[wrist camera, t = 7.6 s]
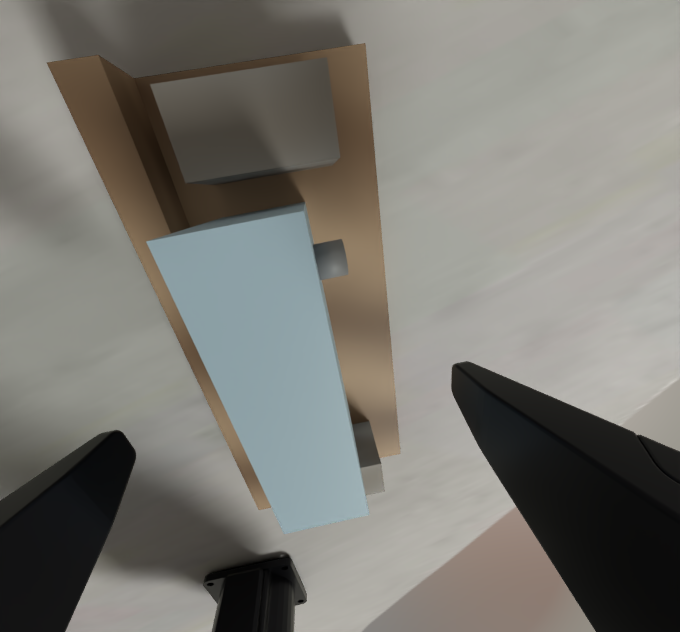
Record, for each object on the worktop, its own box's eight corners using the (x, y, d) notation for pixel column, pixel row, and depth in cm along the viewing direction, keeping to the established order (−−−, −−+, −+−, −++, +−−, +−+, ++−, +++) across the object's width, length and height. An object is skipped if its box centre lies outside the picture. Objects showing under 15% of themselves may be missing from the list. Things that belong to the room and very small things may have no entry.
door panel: (364, 406, 14) (391, 509, 9) (291, 422, 14) (284, 534, 9) (327, 197, 10) (345, 203, 5) (221, 217, 10) (146, 241, 5)
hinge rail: (395, 439, 17) (415, 497, 14) (265, 466, 16) (255, 531, 13) (359, 58, 9) (388, -14, 6) (114, 95, 9) (4, 41, 6)
